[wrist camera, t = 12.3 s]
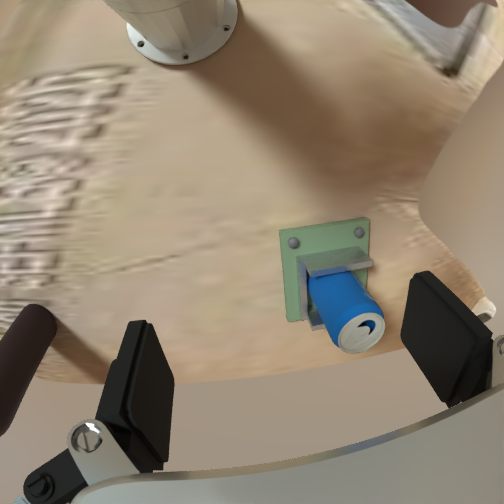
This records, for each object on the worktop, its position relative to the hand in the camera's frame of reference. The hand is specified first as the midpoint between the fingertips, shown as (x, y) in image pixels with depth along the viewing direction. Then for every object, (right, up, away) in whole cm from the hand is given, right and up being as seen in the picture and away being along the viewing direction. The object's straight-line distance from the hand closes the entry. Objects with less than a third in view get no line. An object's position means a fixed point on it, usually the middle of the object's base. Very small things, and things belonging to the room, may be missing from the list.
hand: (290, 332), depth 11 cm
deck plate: (+9, 0, +32) cm, 34 cm away
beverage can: (+9, -1, +32) cm, 33 cm away
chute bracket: (+9, -1, +32) cm, 33 cm away
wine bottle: (-36, -8, +32) cm, 49 cm away
